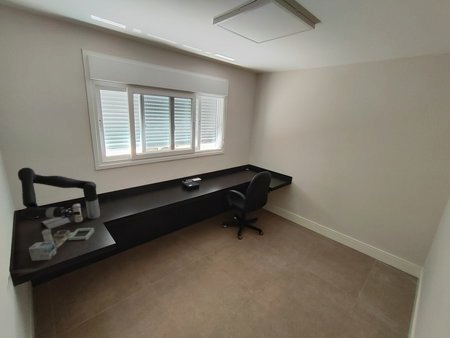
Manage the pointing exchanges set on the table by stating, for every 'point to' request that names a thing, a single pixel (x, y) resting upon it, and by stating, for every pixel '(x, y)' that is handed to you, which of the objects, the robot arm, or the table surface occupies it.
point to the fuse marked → (77, 209)
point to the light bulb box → (42, 250)
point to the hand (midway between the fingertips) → (81, 211)
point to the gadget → (55, 222)
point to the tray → (91, 231)
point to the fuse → (47, 235)
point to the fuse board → (61, 237)
